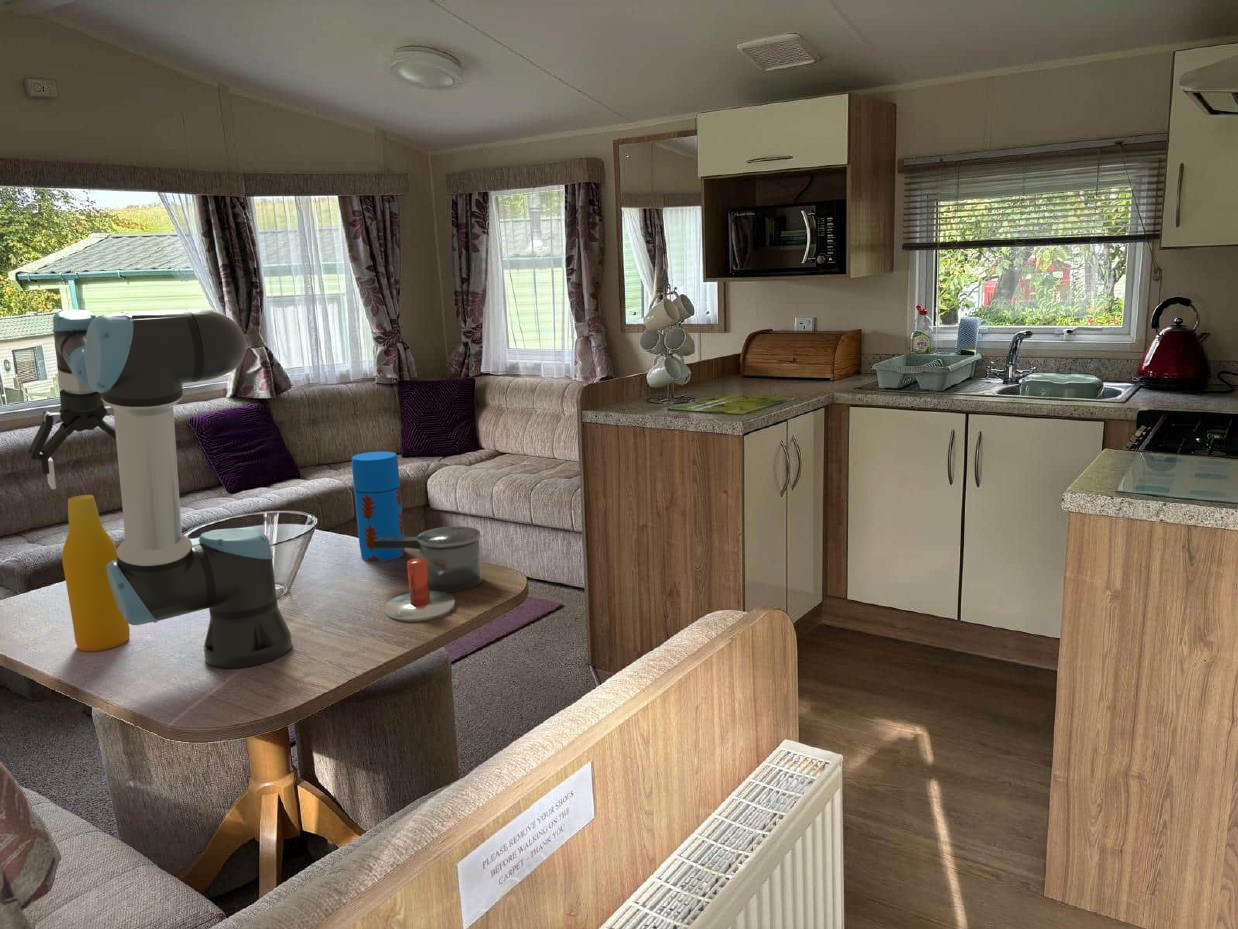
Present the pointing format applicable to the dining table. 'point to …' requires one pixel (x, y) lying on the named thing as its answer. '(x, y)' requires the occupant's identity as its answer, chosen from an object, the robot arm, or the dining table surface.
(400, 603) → the lid
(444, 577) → the pot
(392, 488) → the thermos
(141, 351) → the robot arm
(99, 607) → the beer bottle
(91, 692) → the dining table surface
